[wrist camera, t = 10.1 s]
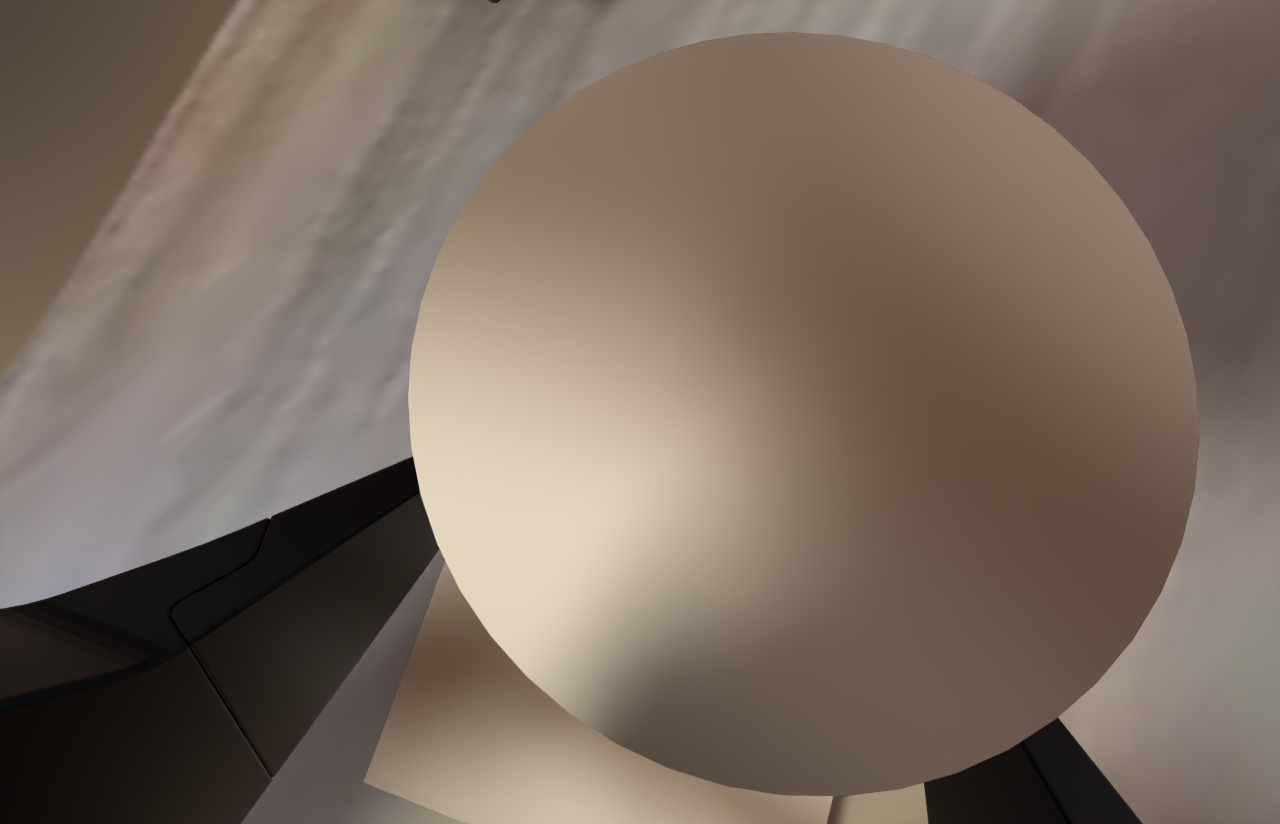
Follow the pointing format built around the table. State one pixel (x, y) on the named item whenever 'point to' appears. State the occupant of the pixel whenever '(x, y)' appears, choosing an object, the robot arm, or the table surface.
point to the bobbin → (803, 414)
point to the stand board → (531, 746)
